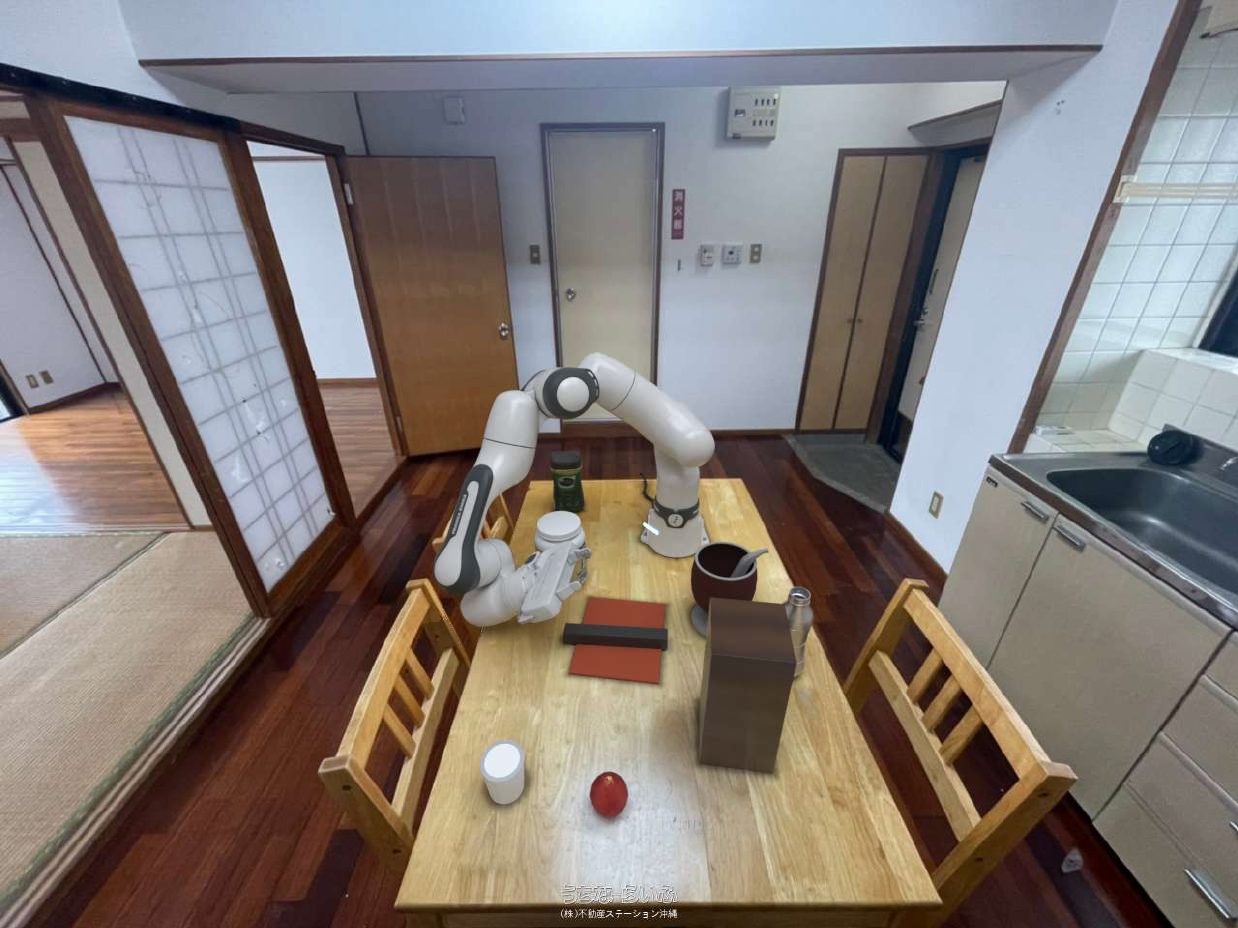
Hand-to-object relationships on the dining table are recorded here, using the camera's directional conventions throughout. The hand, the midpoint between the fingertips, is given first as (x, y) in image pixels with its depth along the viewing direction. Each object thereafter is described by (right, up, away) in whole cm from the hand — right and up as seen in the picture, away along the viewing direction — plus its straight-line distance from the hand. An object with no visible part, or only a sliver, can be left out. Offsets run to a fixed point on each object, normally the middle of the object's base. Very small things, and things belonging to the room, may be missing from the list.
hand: (585, 566), depth 102 cm
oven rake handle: (+6, -18, +9) cm, 20 cm away
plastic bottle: (+40, -21, +3) cm, 46 cm away
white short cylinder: (-12, -32, -18) cm, 39 cm away
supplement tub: (-7, -9, +27) cm, 30 cm away
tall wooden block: (+27, -28, -10) cm, 40 cm away
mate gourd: (+30, -15, +15) cm, 37 cm away
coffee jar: (-9, +7, +57) cm, 58 cm away
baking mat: (+7, -17, +10) cm, 21 cm away
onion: (+5, -34, -21) cm, 40 cm away
